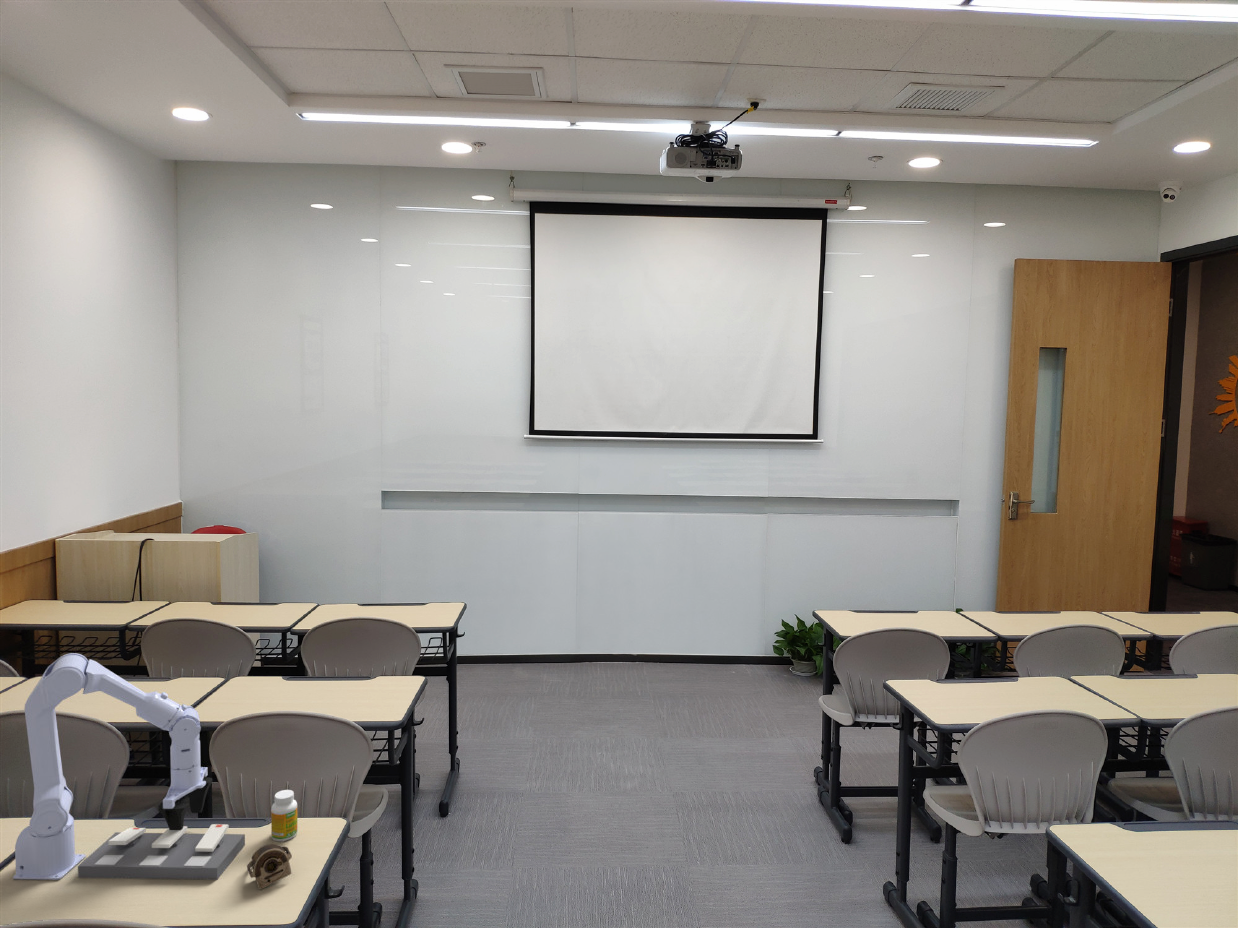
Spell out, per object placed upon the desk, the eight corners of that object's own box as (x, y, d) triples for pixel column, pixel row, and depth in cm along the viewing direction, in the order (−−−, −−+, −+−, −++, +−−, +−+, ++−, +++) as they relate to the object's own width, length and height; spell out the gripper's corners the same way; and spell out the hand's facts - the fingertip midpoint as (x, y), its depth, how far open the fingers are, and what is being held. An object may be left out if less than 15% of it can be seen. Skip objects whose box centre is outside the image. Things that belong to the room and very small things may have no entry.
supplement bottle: (287, 843, 167) (287, 801, 166) (266, 840, 168) (265, 798, 168) (302, 830, 173) (302, 789, 172) (281, 826, 174) (281, 786, 173)
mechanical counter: (230, 869, 149) (282, 854, 151) (247, 827, 162) (295, 814, 163) (240, 900, 151) (292, 885, 153) (256, 856, 163) (304, 842, 165)
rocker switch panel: (78, 877, 154) (77, 863, 153) (115, 843, 165) (115, 829, 165) (217, 879, 154) (217, 864, 154) (244, 844, 166) (244, 831, 166)
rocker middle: (151, 849, 158) (151, 843, 158) (170, 831, 165) (170, 825, 165) (169, 849, 158) (169, 843, 158) (187, 831, 165) (187, 825, 165)
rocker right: (195, 852, 159) (195, 847, 158) (212, 828, 165) (211, 823, 165) (213, 852, 159) (212, 847, 158) (229, 828, 165) (228, 824, 165)
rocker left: (108, 846, 158) (108, 840, 158) (128, 833, 165) (129, 827, 165) (125, 846, 158) (126, 840, 158) (145, 833, 165) (145, 827, 165)
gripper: (186, 780, 160) (187, 841, 161) (220, 748, 174) (221, 805, 176) (152, 779, 160) (153, 840, 161) (189, 748, 174) (190, 804, 175)
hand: (186, 822), depth 168 cm, fingers open, 7 cm apart
